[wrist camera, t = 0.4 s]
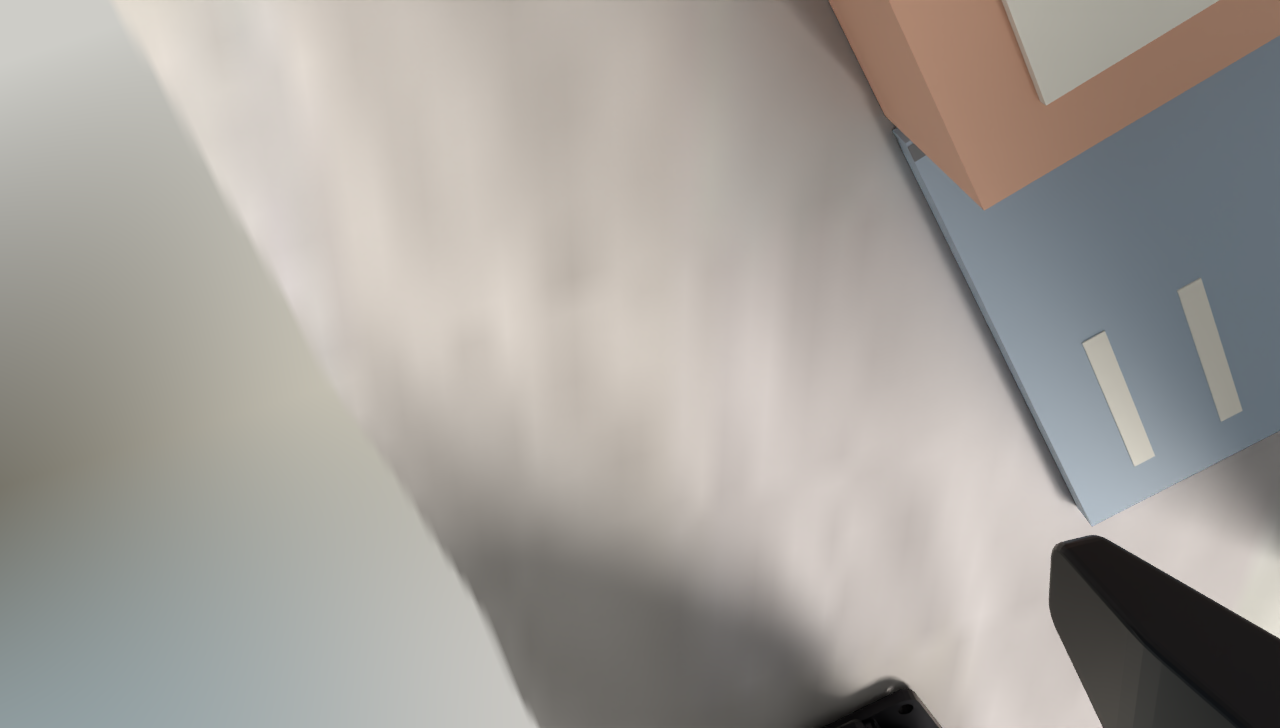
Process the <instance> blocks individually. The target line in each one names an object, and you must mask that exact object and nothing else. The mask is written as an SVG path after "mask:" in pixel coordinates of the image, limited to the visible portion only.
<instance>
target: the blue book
mask: <svg viewBox="0 0 1280 728" xmlns="http://www.w3.org/2000/svg"><path fill="white" fill-rule="evenodd" d="M892 131H893V133H894V135H895V137H896V139H897V141H898V143H899V145H900V147H901V149H902V151H903V153H904V155H905V157H906V159H907V162H908V164H909V166H910V168H911V170H912V172H913V174H914V176H915V178H916V180H917V182H918V184H919V186H920V188H921V190H922V192H923V194H924V196H925V198H926V200H927V202H928V204H929V206H930V208H931V210H932V212H933V214H934V216H935V218H936V220H937V223H938V225H939V227H940V229H941V231H942V233H943V235H944V237H945V239H946V241H947V243H948V245H949V247H950V249H951V251H952V253H953V255H954V257H955V259H956V261H957V263H958V265H959V267H960V269H961V271H962V273H963V275H964V277H965V279H966V281H967V284H968V286H969V288H970V290H971V292H972V294H973V296H974V298H975V300H976V302H977V304H978V306H979V308H980V310H981V312H982V314H983V316H984V318H985V320H986V322H987V324H988V326H989V328H990V330H991V332H992V334H993V336H994V338H995V340H996V343H997V345H998V347H999V349H1000V351H1001V353H1002V355H1003V357H1004V359H1005V361H1006V363H1007V365H1008V367H1009V369H1010V371H1011V373H1012V375H1013V377H1014V379H1015V381H1016V383H1017V385H1018V387H1019V389H1020V391H1021V393H1022V395H1023V397H1024V399H1025V401H1026V404H1027V406H1028V408H1029V410H1030V412H1031V414H1032V416H1033V418H1034V420H1035V422H1036V424H1037V426H1038V428H1039V430H1040V432H1041V434H1042V436H1043V438H1044V440H1045V442H1046V444H1047V446H1048V448H1049V450H1050V452H1051V454H1052V456H1053V458H1054V460H1055V462H1056V465H1057V467H1058V469H1059V471H1060V473H1061V475H1062V477H1063V479H1064V481H1065V483H1066V485H1067V487H1068V489H1069V491H1070V493H1071V495H1072V497H1073V499H1074V501H1075V503H1076V505H1077V507H1078V509H1079V510H1080V511H1081V513H1082V514H1083V515H1084V517H1085V518H1086V519H1087V521H1088V522H1089V523H1090V524H1091V526H1094V525H1096V524H1098V523H1100V522H1102V521H1104V520H1106V519H1108V518H1110V517H1112V516H1113V515H1115V514H1117V513H1119V512H1121V511H1123V510H1125V509H1127V508H1129V507H1131V506H1133V505H1135V504H1137V503H1139V502H1141V501H1143V500H1145V499H1147V498H1149V497H1151V496H1153V495H1155V494H1157V493H1159V492H1161V491H1162V490H1164V489H1166V488H1168V487H1170V486H1172V485H1174V484H1176V483H1178V482H1180V481H1182V480H1184V479H1186V478H1188V477H1190V476H1192V475H1194V474H1196V473H1198V472H1200V471H1202V470H1204V469H1206V468H1208V467H1210V466H1211V465H1213V464H1215V463H1217V462H1219V461H1221V460H1223V459H1225V458H1227V457H1229V456H1231V455H1233V454H1235V453H1237V452H1239V451H1241V450H1243V449H1245V448H1247V447H1249V446H1251V445H1253V444H1255V443H1257V442H1259V441H1260V440H1262V439H1264V438H1266V437H1268V436H1270V435H1272V434H1274V433H1276V432H1278V431H1280V35H1279V36H1278V37H1276V38H1274V39H1273V40H1271V41H1269V42H1268V43H1266V44H1264V45H1263V46H1261V47H1259V48H1258V49H1256V50H1254V51H1253V52H1251V53H1249V54H1247V55H1246V56H1244V57H1242V58H1241V59H1239V60H1237V61H1236V62H1234V63H1232V64H1231V65H1229V66H1227V67H1226V68H1224V69H1222V70H1221V71H1219V72H1217V73H1215V74H1214V75H1212V76H1210V77H1209V78H1207V79H1205V80H1204V81H1202V82H1200V83H1199V84H1197V85H1195V86H1194V87H1192V88H1190V89H1188V90H1187V91H1185V92H1183V93H1182V94H1180V95H1178V96H1177V97H1175V98H1173V99H1172V100H1170V101H1168V102H1167V103H1165V104H1163V105H1162V106H1160V107H1158V108H1156V109H1155V110H1153V111H1151V112H1150V113H1148V114H1146V115H1145V116H1143V117H1141V118H1140V119H1138V120H1136V121H1135V122H1133V123H1131V124H1129V125H1128V126H1126V127H1124V128H1123V129H1121V130H1119V131H1118V132H1116V133H1114V134H1113V135H1111V136H1109V137H1108V138H1106V139H1104V140H1103V141H1101V142H1099V143H1097V144H1096V145H1094V146H1092V147H1091V148H1089V149H1087V150H1086V151H1084V152H1082V153H1081V154H1079V155H1077V156H1076V157H1074V158H1072V159H1070V160H1069V161H1067V162H1065V163H1064V164H1062V165H1060V166H1059V167H1057V168H1055V169H1054V170H1052V171H1050V172H1049V173H1047V174H1045V175H1044V176H1042V177H1040V178H1038V179H1037V180H1035V181H1033V182H1032V183H1030V184H1028V185H1027V186H1025V187H1023V188H1022V189H1020V190H1018V191H1017V192H1015V193H1013V194H1011V195H1010V196H1008V197H1006V198H1005V199H1003V200H1001V201H1000V202H998V203H996V204H995V205H993V206H991V207H990V208H988V209H986V210H985V211H984V210H983V209H982V208H981V207H980V206H979V205H978V204H977V203H976V202H975V201H973V200H972V199H971V198H970V197H969V196H968V195H967V194H966V193H965V192H964V191H963V190H962V189H961V188H960V187H959V186H958V185H957V184H956V183H955V182H954V181H953V180H952V179H951V178H949V177H948V176H947V175H946V174H945V173H944V172H943V171H942V170H941V169H940V168H939V167H938V166H937V165H936V164H935V163H934V162H933V161H932V160H931V159H930V158H929V157H928V156H926V155H925V154H924V153H923V152H922V151H921V150H920V149H919V148H918V147H917V146H916V145H915V144H914V143H913V142H912V141H911V140H910V139H909V138H908V137H907V136H906V135H905V134H904V133H902V132H901V131H900V130H899V129H898V128H895V129H894V130H892Z"/></svg>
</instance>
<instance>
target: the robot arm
mask: <svg viewBox="0 0 1280 728" xmlns="http://www.w3.org/2000/svg"><path fill="white" fill-rule="evenodd" d="M1049 608H1050V613H1051V617H1052V620H1053V623H1054V625H1055V628H1056V630H1057V632H1058V634H1059V636H1060V638H1061V640H1062V642H1063V645H1064V647H1065V649H1066V651H1067V653H1068V655H1069V657H1070V659H1071V661H1072V663H1073V666H1074V668H1075V670H1076V672H1077V674H1078V676H1079V678H1080V680H1081V682H1082V684H1083V687H1084V689H1085V691H1086V693H1087V695H1088V697H1089V699H1090V701H1091V703H1092V705H1093V708H1094V710H1095V712H1096V714H1097V716H1098V718H1099V720H1100V722H1101V724H1102V726H1103V728H1280V639H1279V638H1278V637H1276V636H1274V635H1272V634H1271V633H1269V632H1267V631H1265V630H1264V629H1262V628H1260V627H1258V626H1257V625H1255V624H1253V623H1252V622H1250V621H1248V620H1246V619H1245V618H1243V617H1241V616H1239V615H1238V614H1236V613H1234V612H1232V611H1231V610H1229V609H1227V608H1226V607H1224V606H1222V605H1220V604H1219V603H1217V602H1215V601H1213V600H1212V599H1210V598H1208V597H1206V596H1205V595H1203V594H1201V593H1199V592H1198V591H1196V590H1194V589H1193V588H1191V587H1189V586H1187V585H1186V584H1184V583H1182V582H1180V581H1179V580H1177V579H1175V578H1173V577H1172V576H1170V575H1168V574H1166V573H1165V572H1163V571H1161V570H1160V569H1158V568H1156V567H1154V566H1153V565H1151V564H1149V563H1147V562H1146V561H1144V560H1142V559H1140V558H1139V557H1137V556H1135V555H1134V554H1132V553H1130V552H1128V551H1127V550H1125V549H1123V548H1121V547H1120V546H1118V545H1116V544H1114V543H1113V542H1111V541H1109V540H1107V539H1105V538H1103V537H1100V536H1097V535H1089V536H1084V537H1080V538H1076V539H1072V540H1068V541H1064V542H1060V543H1058V544H1056V545H1055V546H1054V548H1053V550H1052V554H1051V568H1050V588H1049ZM824 728H942V727H941V726H940V724H939V723H938V722H937V720H936V719H935V718H934V717H933V715H932V714H931V713H930V711H929V710H928V709H927V707H926V706H925V705H924V704H923V702H922V701H921V700H920V698H919V697H918V696H917V695H916V693H915V692H914V691H912V690H908V689H905V690H899V691H897V692H894V693H892V694H890V695H888V696H886V697H884V698H882V699H880V700H878V701H876V702H874V703H872V704H870V705H868V706H866V707H864V708H862V709H860V710H858V711H856V712H854V713H852V714H850V715H848V716H846V717H844V718H842V719H840V720H838V721H836V722H834V723H832V724H830V725H828V726H826V727H824Z"/></svg>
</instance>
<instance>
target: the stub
mask: <svg viewBox="0 0 1280 728" xmlns="http://www.w3.org/2000/svg"><path fill="white" fill-rule="evenodd" d="M828 1H829V3H830V5H831V7H832V9H833V11H834V13H835V15H836V17H837V19H838V21H839V23H840V25H841V27H842V29H843V31H844V33H845V35H846V37H847V39H848V42H849V44H850V46H851V48H852V50H853V52H854V54H855V56H856V58H857V60H858V62H859V64H860V66H861V68H862V70H863V72H864V74H865V76H866V78H867V80H868V82H869V84H870V86H871V88H872V90H873V92H874V94H875V96H876V98H877V100H878V103H879V105H880V107H881V109H882V111H883V113H884V115H885V116H886V117H887V118H888V119H889V120H890V121H891V122H892V123H893V124H894V125H895V126H896V127H897V128H898V129H899V130H900V131H901V132H902V133H904V134H905V135H906V136H907V137H908V138H909V139H910V140H911V141H912V142H913V143H914V144H915V145H916V146H917V147H918V148H919V149H920V150H921V151H922V152H923V153H924V154H925V155H926V156H928V157H929V158H930V159H931V160H932V161H933V162H934V163H935V164H936V165H937V166H938V167H939V168H940V169H941V170H942V171H943V172H944V173H945V174H946V175H947V176H948V177H949V178H951V179H952V180H953V181H954V182H955V183H956V184H957V185H958V186H959V187H960V188H961V189H962V190H963V191H964V192H965V193H966V194H967V195H968V196H969V197H970V198H971V199H972V200H973V201H975V202H976V203H977V204H978V205H979V206H980V207H981V208H982V209H983V210H984V211H985V210H986V209H988V208H990V207H991V206H993V205H995V204H996V203H998V202H1000V201H1001V200H1003V199H1005V198H1006V197H1008V196H1010V195H1011V194H1013V193H1015V192H1017V191H1018V190H1020V189H1022V188H1023V187H1025V186H1027V185H1028V184H1030V183H1032V182H1033V181H1035V180H1037V179H1038V178H1040V177H1042V176H1044V175H1045V174H1047V173H1049V172H1050V171H1052V170H1054V169H1055V168H1057V167H1059V166H1060V165H1062V164H1064V163H1065V162H1067V161H1069V160H1070V159H1072V158H1074V157H1076V156H1077V155H1079V154H1081V153H1082V152H1084V151H1086V150H1087V149H1089V148H1091V147H1092V146H1094V145H1096V144H1097V143H1099V142H1101V141H1103V140H1104V139H1106V138H1108V137H1109V136H1111V135H1113V134H1114V133H1116V132H1118V131H1119V130H1121V129H1123V128H1124V127H1126V126H1128V125H1129V124H1131V123H1133V122H1135V121H1136V120H1138V119H1140V118H1141V117H1143V116H1145V115H1146V114H1148V113H1150V112H1151V111H1153V110H1155V109H1156V108H1158V107H1160V106H1162V105H1163V104H1165V103H1167V102H1168V101H1170V100H1172V99H1173V98H1175V97H1177V96H1178V95H1180V94H1182V93H1183V92H1185V91H1187V90H1188V89H1190V88H1192V87H1194V86H1195V85H1197V84H1199V83H1200V82H1202V81H1204V80H1205V79H1207V78H1209V77H1210V76H1212V75H1214V74H1215V73H1217V72H1219V71H1221V70H1222V69H1224V68H1226V67H1227V66H1229V65H1231V64H1232V63H1234V62H1236V61H1237V60H1239V59H1241V58H1242V57H1244V56H1246V55H1247V54H1249V53H1251V52H1253V51H1254V50H1256V49H1258V48H1259V47H1261V46H1263V45H1264V44H1266V43H1268V42H1269V41H1271V40H1273V39H1274V38H1276V37H1278V36H1279V35H1280V0H828Z"/></svg>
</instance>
